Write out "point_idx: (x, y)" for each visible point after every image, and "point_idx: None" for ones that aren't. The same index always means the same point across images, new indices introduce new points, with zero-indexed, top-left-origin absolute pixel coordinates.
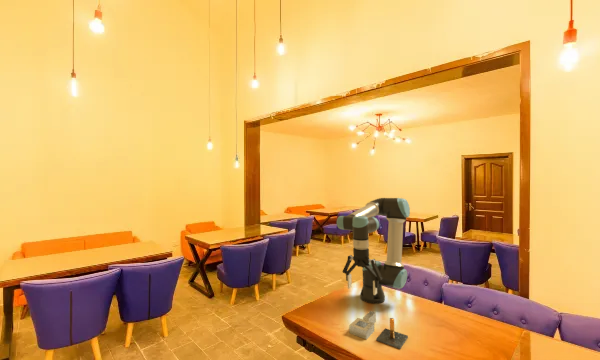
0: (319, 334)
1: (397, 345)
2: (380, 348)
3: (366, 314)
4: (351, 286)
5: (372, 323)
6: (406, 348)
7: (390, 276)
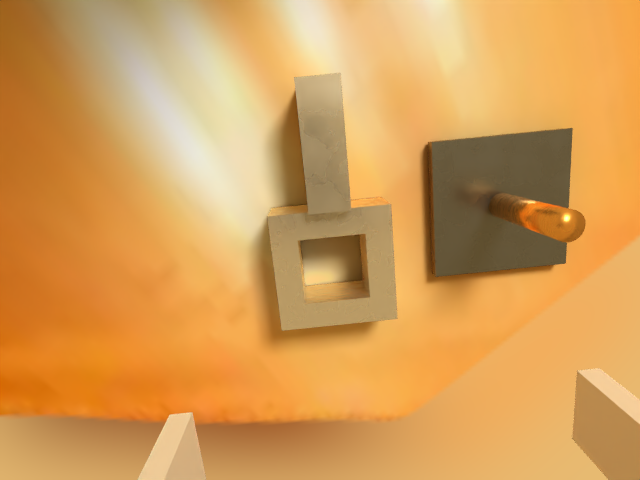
0: None
1: (550, 260)
2: (473, 313)
3: (303, 157)
4: (191, 421)
5: (384, 216)
6: None
7: None
